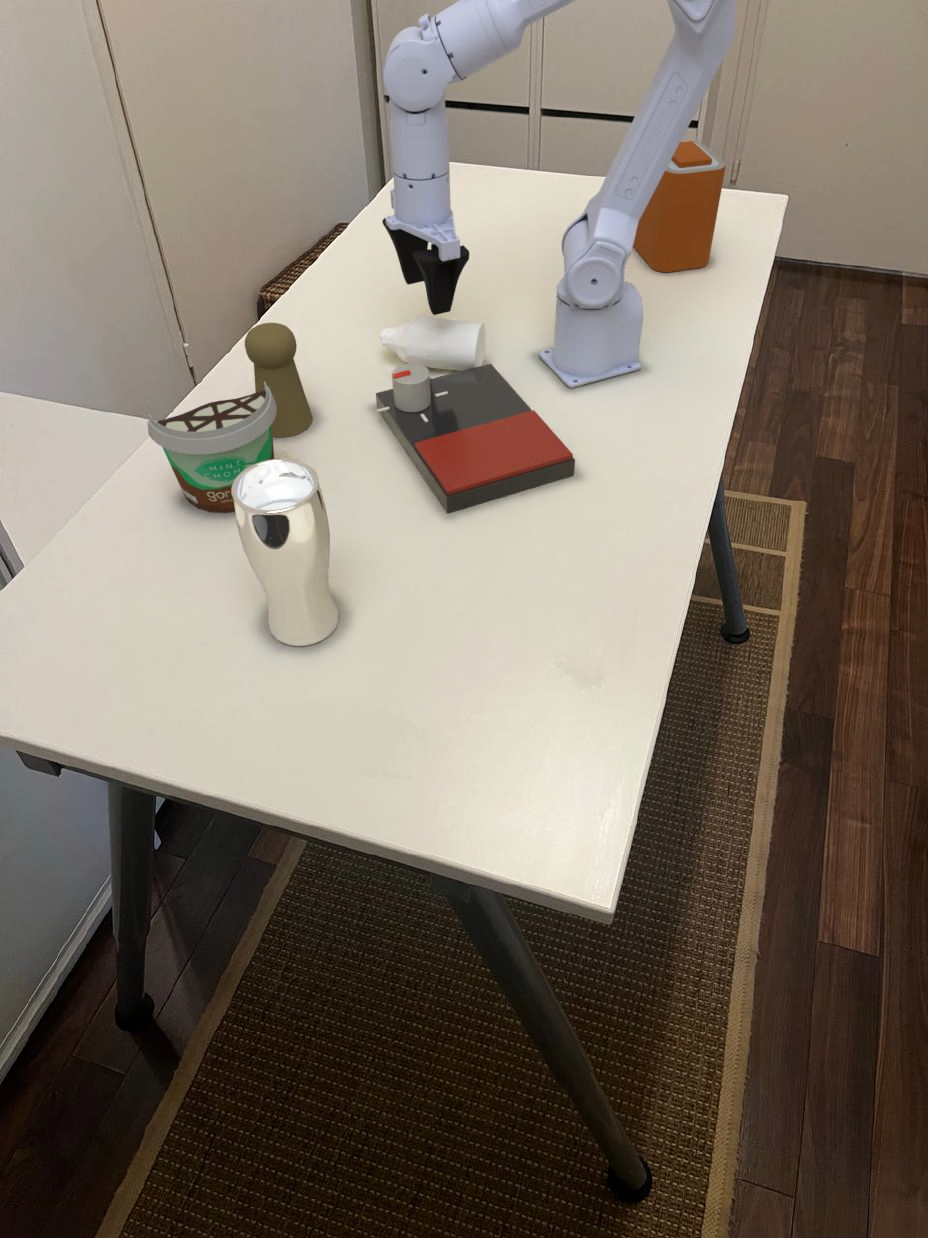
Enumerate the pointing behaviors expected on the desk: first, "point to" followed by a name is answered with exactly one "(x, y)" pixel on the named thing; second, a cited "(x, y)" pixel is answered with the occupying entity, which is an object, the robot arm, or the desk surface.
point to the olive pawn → (279, 376)
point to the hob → (459, 408)
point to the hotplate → (492, 452)
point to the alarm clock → (682, 211)
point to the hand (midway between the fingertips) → (427, 296)
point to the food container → (217, 446)
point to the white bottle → (438, 342)
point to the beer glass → (288, 547)
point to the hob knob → (411, 387)
